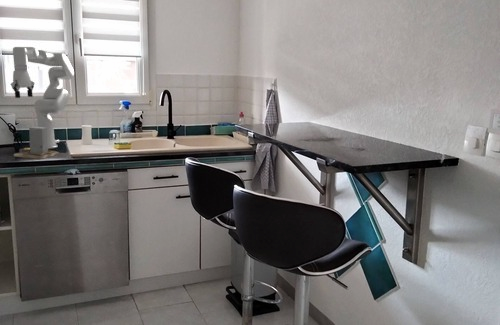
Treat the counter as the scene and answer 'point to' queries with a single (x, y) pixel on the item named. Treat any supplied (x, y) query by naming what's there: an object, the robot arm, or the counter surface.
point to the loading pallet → (38, 156)
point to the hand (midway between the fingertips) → (24, 97)
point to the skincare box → (38, 140)
